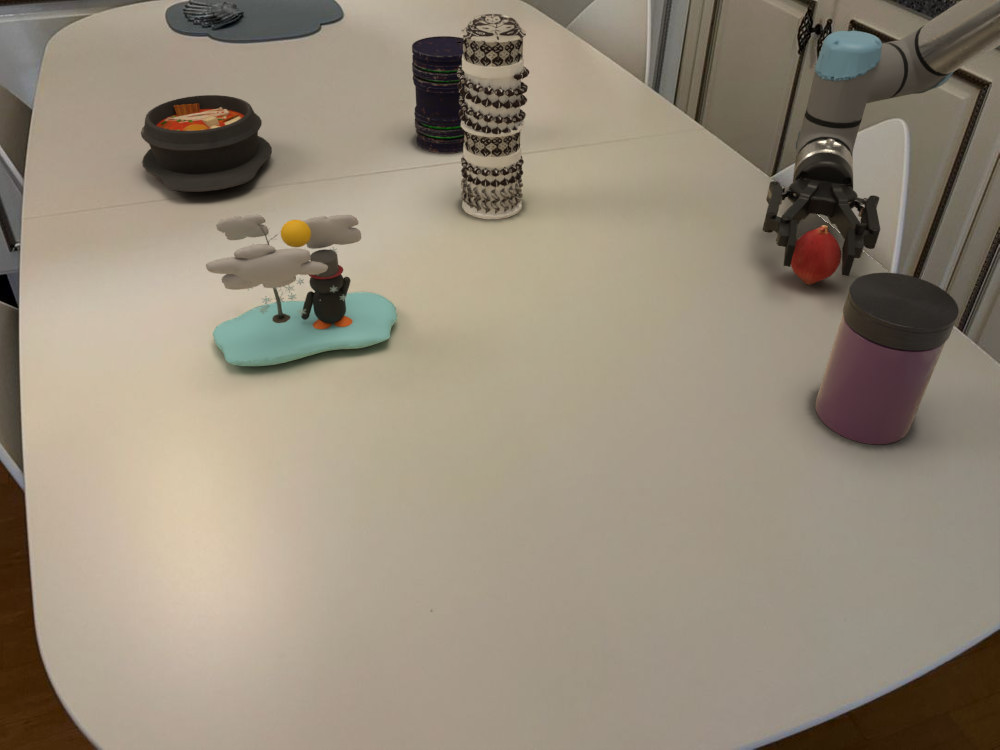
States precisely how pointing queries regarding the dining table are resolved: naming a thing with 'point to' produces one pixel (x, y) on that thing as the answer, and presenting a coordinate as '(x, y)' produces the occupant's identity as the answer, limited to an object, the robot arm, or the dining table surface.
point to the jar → (872, 387)
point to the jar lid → (900, 311)
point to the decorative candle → (492, 115)
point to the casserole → (204, 143)
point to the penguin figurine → (296, 322)
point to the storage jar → (438, 93)
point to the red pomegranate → (816, 255)
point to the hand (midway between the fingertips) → (818, 260)
